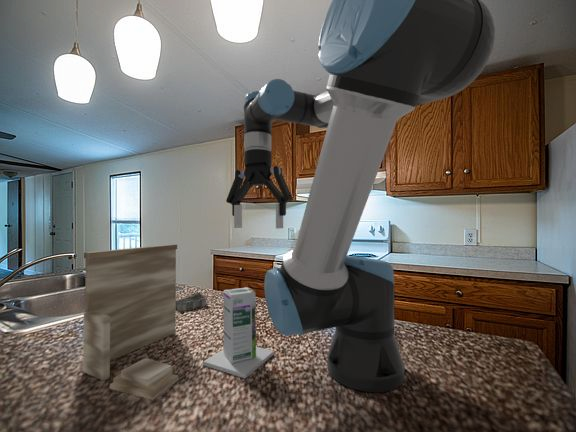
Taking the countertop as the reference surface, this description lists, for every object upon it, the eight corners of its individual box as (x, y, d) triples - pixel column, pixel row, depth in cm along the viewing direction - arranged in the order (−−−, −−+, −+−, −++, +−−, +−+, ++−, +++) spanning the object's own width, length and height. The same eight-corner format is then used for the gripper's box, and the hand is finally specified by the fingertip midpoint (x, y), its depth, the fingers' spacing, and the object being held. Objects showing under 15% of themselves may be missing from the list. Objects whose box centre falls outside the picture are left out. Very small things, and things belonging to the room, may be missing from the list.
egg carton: (201, 302, 107) (201, 291, 107) (208, 307, 101) (208, 295, 101) (172, 307, 100) (172, 295, 100) (178, 312, 94) (178, 300, 94)
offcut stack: (179, 380, 54) (179, 362, 54) (152, 402, 48) (152, 381, 48) (140, 371, 58) (140, 354, 58) (109, 390, 51) (110, 371, 51)
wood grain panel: (193, 336, 74) (193, 245, 74) (103, 380, 54) (104, 254, 54) (172, 331, 78) (172, 244, 78) (80, 370, 57) (81, 252, 58)
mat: (273, 354, 64) (273, 351, 64) (245, 378, 54) (245, 374, 54) (235, 344, 69) (235, 341, 69) (203, 365, 59) (203, 361, 59)
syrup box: (230, 364, 58) (230, 294, 58) (222, 353, 63) (223, 288, 63) (256, 358, 61) (256, 291, 61) (246, 347, 66) (246, 285, 66)
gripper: (304, 149, 75) (305, 228, 74) (230, 158, 86) (230, 227, 86) (292, 142, 68) (292, 229, 68) (214, 153, 79) (213, 227, 79)
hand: (258, 228), depth 77 cm, fingers open, 13 cm apart
